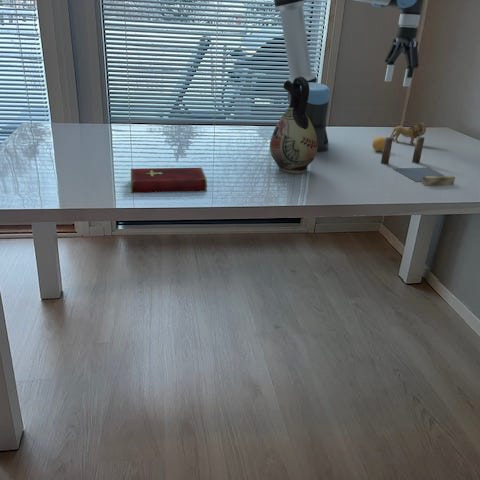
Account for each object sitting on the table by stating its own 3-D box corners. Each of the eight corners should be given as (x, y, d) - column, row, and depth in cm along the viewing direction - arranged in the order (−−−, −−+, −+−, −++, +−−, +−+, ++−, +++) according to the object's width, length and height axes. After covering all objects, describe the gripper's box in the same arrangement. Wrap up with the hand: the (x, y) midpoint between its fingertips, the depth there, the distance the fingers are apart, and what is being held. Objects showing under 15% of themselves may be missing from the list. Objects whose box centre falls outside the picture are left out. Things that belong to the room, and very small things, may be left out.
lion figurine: (423, 144, 203) (427, 122, 199) (422, 147, 198) (426, 124, 194) (387, 139, 208) (391, 118, 204) (385, 142, 203) (389, 120, 199)
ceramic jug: (260, 164, 165) (266, 72, 152) (301, 162, 170) (310, 72, 157) (282, 180, 151) (290, 79, 138) (325, 176, 156) (337, 79, 143)
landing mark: (415, 182, 155) (415, 181, 155) (393, 169, 167) (393, 168, 167) (453, 180, 158) (453, 179, 158) (428, 167, 170) (428, 167, 170)
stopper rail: (425, 185, 152) (427, 178, 151) (421, 183, 153) (423, 176, 152) (453, 184, 154) (455, 177, 153) (449, 182, 156) (451, 175, 155)
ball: (375, 153, 186) (377, 138, 183) (368, 149, 191) (371, 135, 188) (388, 152, 187) (390, 138, 185) (381, 149, 192) (383, 135, 190)
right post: (414, 163, 175) (419, 138, 171) (410, 161, 177) (415, 136, 173) (420, 163, 176) (426, 138, 172) (416, 161, 178) (421, 136, 174)
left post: (383, 164, 172) (387, 139, 168) (379, 162, 174) (383, 137, 170) (389, 164, 173) (394, 139, 169) (386, 162, 175) (390, 137, 171)
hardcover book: (206, 193, 139) (206, 179, 137) (131, 195, 135) (130, 180, 133) (201, 179, 149) (201, 166, 148) (131, 181, 145) (130, 167, 143)
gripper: (436, 28, 178) (423, 88, 187) (398, 25, 199) (388, 79, 208) (418, 27, 176) (406, 88, 185) (382, 24, 197) (373, 79, 206)
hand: (396, 83), depth 197 cm, fingers open, 13 cm apart
